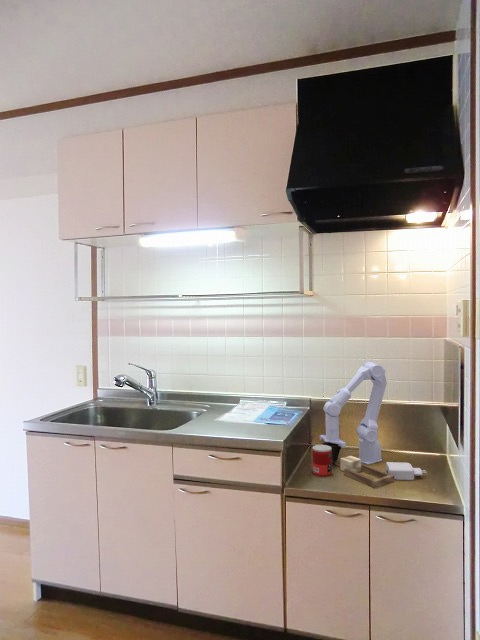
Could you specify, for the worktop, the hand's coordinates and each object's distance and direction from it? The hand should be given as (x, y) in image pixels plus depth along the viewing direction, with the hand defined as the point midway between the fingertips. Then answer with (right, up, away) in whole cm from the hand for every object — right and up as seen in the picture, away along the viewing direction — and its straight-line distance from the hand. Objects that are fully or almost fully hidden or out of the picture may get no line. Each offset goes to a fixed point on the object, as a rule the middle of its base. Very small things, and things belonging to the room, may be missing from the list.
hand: (332, 459), depth 207 cm
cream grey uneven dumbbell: (+3, -2, -5) cm, 7 cm away
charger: (+27, -2, -17) cm, 32 cm away
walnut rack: (+10, -2, -17) cm, 20 cm away
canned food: (-6, -3, -11) cm, 13 cm away
